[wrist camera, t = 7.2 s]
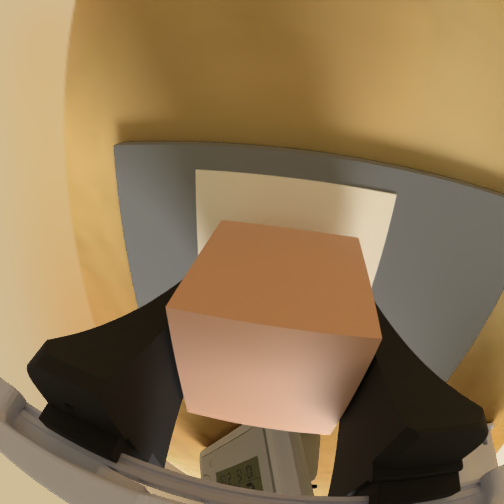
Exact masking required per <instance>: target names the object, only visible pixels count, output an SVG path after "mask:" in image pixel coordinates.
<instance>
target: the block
mask: <svg viewBox="0 0 504 504" xmlns="http://www.w3.org/2000/svg"><path fill="white" fill-rule="evenodd" d="M166 313H167V318H168V324H169V329H170V335H171V340H172V345H173V350H174V355H175V360H176V365H177V369H178V374H179V378H180V383H181V387H182V391H183V396H184V400H185V404H186V408H187V412H189V413H193V414H197V415H201V416H206V417H210V418H214V419H219V420H224V421H228V422H233V423H239V424H244V425H250V426H256V427H262V428H268V429H275V430H283V431H291V432H300V433H310V434H323V435H330V434H331V433H332V431H333V430H334V428H335V426H336V425H337V423H338V421H339V420H340V418H341V416H342V415H343V413H344V411H345V410H346V408H347V406H348V404H349V403H350V401H351V399H352V397H353V396H354V394H355V392H356V390H357V388H358V386H359V385H360V383H361V381H362V379H363V377H364V375H365V373H366V371H367V369H368V367H369V365H370V363H371V361H372V359H373V357H374V355H375V353H376V351H377V349H378V347H379V345H380V342H381V340H382V335H381V330H380V325H379V320H378V315H377V311H376V306H375V301H374V297H373V293H372V288H371V284H370V280H369V276H368V272H367V268H366V264H365V260H364V257H363V253H362V249H361V246H360V242H359V238H357V237H350V236H343V235H336V234H329V233H322V232H315V231H307V230H300V229H292V228H284V227H277V226H269V225H261V224H252V223H244V222H236V221H227V220H221V222H220V223H219V225H218V226H217V228H216V229H215V231H214V232H213V234H212V235H211V237H210V238H209V240H208V241H207V243H206V244H205V246H204V247H203V249H202V250H201V252H200V253H199V255H198V257H197V258H196V260H195V261H194V263H193V264H192V266H191V267H190V269H189V271H188V272H187V274H186V275H185V277H184V278H183V280H182V282H181V283H180V285H179V286H178V288H177V289H176V291H175V293H174V294H173V296H172V297H171V299H170V301H169V302H168V304H167V305H166Z"/></svg>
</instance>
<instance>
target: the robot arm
mask: <svg viewBox="0 0 504 504" xmlns="http://www.w3.org/2000/svg"><path fill="white" fill-rule="evenodd" d="M181 282H182V280H181V281H180V282H179V283H177V284H176V285H174V286H173V287H172V288H170V289H169V290H167V291H166V292H164V293H163V294H161V295H160V296H158V297H157V298H155V299H154V300H152V301H150V302H149V303H147V304H146V305H144V306H142V307H140V308H138V309H137V310H135V311H133V312H131V313H129V314H127V315H125V316H123V317H120V318H118V319H116V320H113V321H111V322H109V323H106V324H104V325H101V326H99V327H96V328H93V329H90V330H87V331H84V332H80V333H77V334H73V335H69V336H64V337H59V338H55V339H50V340H47V341H46V342H45V343H44V344H43V346H42V347H41V348H40V350H39V351H38V352H37V353H36V354H35V356H34V357H33V358H32V360H31V361H30V362H29V364H28V365H27V372H28V374H29V377H30V378H31V380H32V382H33V383H34V384H35V386H36V387H37V389H38V390H39V391H40V393H41V394H42V395H43V397H44V398H45V399H46V400H47V402H48V404H47V405H46V407H45V409H44V410H43V412H41V411H39V410H38V409H36V408H35V407H33V406H32V405H30V404H28V403H27V402H26V400H25V398H24V397H23V396H22V395H21V394H20V392H19V391H17V390H16V389H15V388H14V387H13V386H11V385H10V384H9V383H7V382H5V381H4V380H3V379H2V378H0V452H1V453H2V454H3V455H5V456H6V457H7V458H8V459H9V460H10V461H12V462H13V463H14V464H15V465H16V466H17V467H19V468H20V469H21V470H22V471H24V472H25V473H26V474H28V475H29V476H30V477H31V478H33V479H34V480H35V481H37V482H38V483H40V484H41V485H42V486H44V487H45V488H47V489H48V490H49V491H51V492H52V493H54V494H55V495H57V496H58V497H60V498H62V499H63V500H65V501H66V502H68V503H69V504H185V503H181V502H178V501H175V500H171V499H167V498H165V497H161V496H158V495H155V494H151V493H149V492H148V491H147V490H146V488H145V486H143V485H141V484H139V483H142V484H144V485H147V486H150V487H153V488H155V489H158V490H161V491H164V492H167V493H170V494H173V495H177V496H180V497H184V498H187V499H190V500H194V501H198V502H202V503H206V504H504V465H502V466H499V467H498V464H497V459H496V454H495V449H494V445H493V440H492V436H491V432H490V430H491V429H492V428H493V427H494V423H488V424H487V422H486V418H485V415H484V411H483V408H482V407H480V406H479V405H477V404H475V403H474V402H472V401H471V400H469V399H468V398H466V397H464V396H463V395H461V394H460V393H459V392H457V391H456V390H455V389H453V388H452V387H451V386H449V385H448V384H447V383H446V382H444V381H443V380H442V379H441V378H440V377H438V376H437V375H436V374H435V373H434V372H433V371H432V370H431V369H430V368H429V367H427V366H426V365H425V364H424V363H423V362H422V361H421V360H420V359H419V357H418V356H417V355H416V354H415V353H414V352H413V351H412V350H411V349H410V348H409V347H408V345H407V344H406V343H405V342H404V341H403V339H402V338H401V337H400V336H399V334H398V333H397V332H396V331H395V329H394V328H393V327H392V325H391V324H390V323H389V321H388V320H387V318H386V317H385V316H384V314H383V313H382V311H381V310H380V308H379V307H378V305H377V304H376V302H375V306H376V311H377V315H378V320H379V325H380V330H381V335H382V340H381V342H380V345H379V347H378V349H377V351H376V353H375V355H374V357H373V359H372V361H371V363H370V365H369V367H368V369H367V371H366V373H365V375H364V377H363V379H362V381H361V383H360V385H359V386H358V388H357V390H356V392H355V394H354V396H353V397H352V399H351V401H350V403H349V404H348V406H347V408H346V410H345V411H344V413H343V415H342V416H341V418H340V421H339V432H338V441H337V449H336V456H335V462H334V469H333V474H332V479H331V484H330V489H329V494H328V496H306V495H293V494H282V493H274V492H266V491H259V490H252V489H246V488H241V487H235V486H230V485H225V484H220V483H216V482H212V481H207V480H203V479H199V478H196V477H192V476H188V475H185V474H180V473H178V472H174V471H171V470H168V469H165V468H164V467H165V462H166V458H167V453H168V449H169V445H170V441H171V437H172V433H173V430H174V426H175V422H176V419H177V415H178V412H179V409H180V405H181V402H182V399H183V391H182V387H181V383H180V378H179V374H178V369H177V365H176V360H175V355H174V350H173V345H172V340H171V335H170V329H169V324H168V318H167V313H166V305H167V304H168V302H169V301H170V299H171V297H172V296H173V294H174V293H175V291H176V289H177V288H178V286H179V285H180V283H181ZM133 480H134V481H133ZM135 481H136V482H135ZM137 482H139V483H137Z"/></svg>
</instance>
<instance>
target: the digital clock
mask: <svg viewBox="0 0 504 504" xmlns="http://www.w3.org/2000/svg"><path fill="white" fill-rule="evenodd" d="M319 447H320V435H318V434H310V433H300V432H291V431H283V430H275V429H268V428H262V427H256V426H250V425H244V424H242V425H241V426H239V427H238V428H236V429H235V430H233V431H232V432H230V433H229V434H227V435H226V436H224V437H223V438H221V439H220V440H218V441H217V442H215V443H213V444H212V445H210V446H209V447H207V448H205V449H204V450H203V451H201V453H200V470H201V479H203V480H207V481H212V482H216V483H220V484H225V485H230V486H235V487H241V488H246V489H252V490H259V491H266V492H274V493H282V494H293V495H306V496H314V494H313V489H312V485H311V481H313V480H314V479H315V477H316V474H317V470H318V459H319ZM204 504H206V503H204Z"/></svg>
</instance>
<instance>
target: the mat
mask: <svg viewBox="0 0 504 504" xmlns="http://www.w3.org/2000/svg"><path fill="white" fill-rule="evenodd" d="M114 156H115V168H116V178H117V188H118V196H119V204H120V212H121V219H122V226H123V232H124V239H125V245H126V250H127V256H128V262H129V267H130V272H131V277H132V282H133V287H134V291H135V296H136V300H137V305H138V308H140V307H142V306H144V305H146V304H147V303H149V302H150V301H152V300H154V299H155V298H157V297H158V296H160V295H161V294H163V293H164V292H166V291H167V290H169V289H170V288H172V287H173V286H174V285H176V284H177V283H179V282H180V281H181V280H183V278H184V277H185V275H186V274H187V272H188V271H189V269H190V267H191V266H192V264H193V263H194V261H195V260H196V258H197V257H198V255H199V253H200V252H201V250H202V249H203V247H204V246H205V244H206V243H207V241H208V240H209V238H210V237H211V235H212V234H213V232H214V231H215V229H216V228H217V226H218V225H219V223H220V222H221V220H227V221H236V222H244V223H252V224H261V225H269V226H277V227H284V228H292V229H300V230H307V231H315V232H322V233H329V234H336V235H343V236H350V237H357V238H359V242H360V246H361V249H362V253H363V257H364V260H365V264H366V268H367V272H368V276H369V280H370V284H371V288H372V293H373V297H374V301H375V302H376V304H377V305H378V307H379V308H380V310H381V311H382V313H383V314H384V316H385V317H386V318H387V320H388V321H389V323H390V324H391V325H392V327H393V328H394V329H395V331H396V332H397V333H398V334H399V336H400V337H401V338H402V339H403V341H404V342H405V343H406V344H407V345H408V347H409V348H410V349H411V350H412V351H413V352H414V353H415V354H416V355H417V356H418V357H419V359H420V360H421V361H422V362H423V363H424V364H425V365H426V366H427V367H429V368H430V369H431V370H432V371H433V372H434V373H435V374H436V375H437V376H438V377H440V378H441V379H442V380H443V381H444V382H447V380H448V379H449V378H450V376H451V375H452V374H453V372H454V371H455V370H456V368H457V367H458V365H459V364H460V362H461V361H462V360H463V358H464V357H465V355H466V354H467V352H468V351H469V349H470V348H471V346H472V344H473V343H474V341H475V340H476V338H477V337H478V335H479V333H480V332H481V330H482V328H483V327H484V325H485V323H486V321H487V320H488V318H489V316H490V314H491V313H492V311H493V309H494V307H495V305H496V303H497V301H498V299H499V298H500V296H501V294H502V292H503V290H504V194H502V193H499V192H496V191H493V190H490V189H486V188H483V187H480V186H477V185H473V184H470V183H466V182H463V181H459V180H456V179H452V178H448V177H445V176H441V175H437V174H433V173H429V172H425V171H420V170H416V169H412V168H407V167H403V166H398V165H393V164H388V163H383V162H378V161H373V160H367V159H362V158H356V157H350V156H344V155H337V154H331V153H324V152H316V151H309V150H301V149H292V148H283V147H273V146H262V145H249V144H235V143H217V142H188V141H138V142H122V143H119V144H116V145H114Z"/></svg>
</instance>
